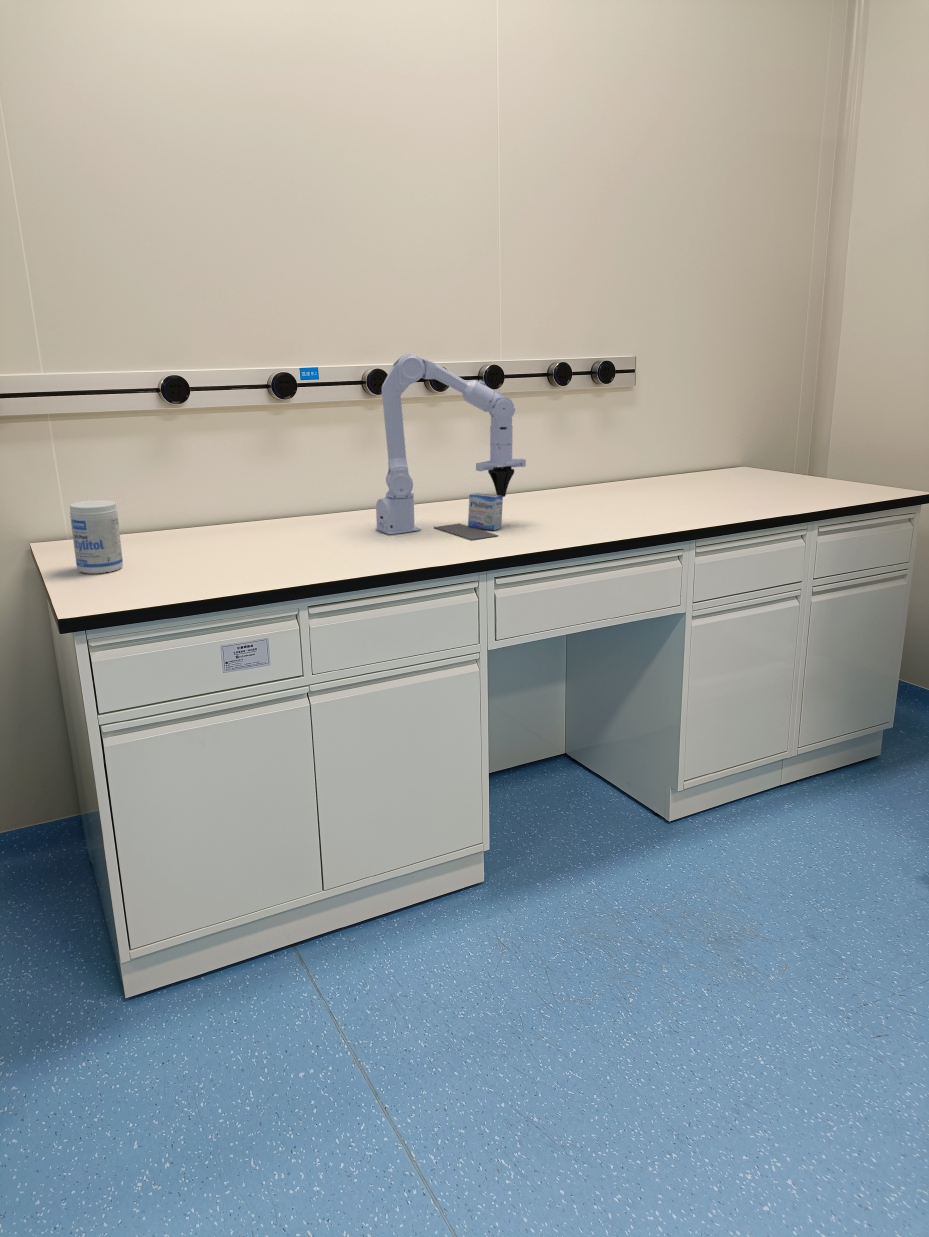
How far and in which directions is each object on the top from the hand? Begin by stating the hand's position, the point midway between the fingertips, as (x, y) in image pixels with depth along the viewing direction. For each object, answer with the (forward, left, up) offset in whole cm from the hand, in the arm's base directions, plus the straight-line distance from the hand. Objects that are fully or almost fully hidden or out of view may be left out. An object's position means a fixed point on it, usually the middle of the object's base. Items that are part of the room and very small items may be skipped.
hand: (501, 496), depth 235 cm
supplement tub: (-98, +14, -8) cm, 100 cm away
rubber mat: (-12, -1, -8) cm, 14 cm away
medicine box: (-5, 0, -8) cm, 9 cm away
